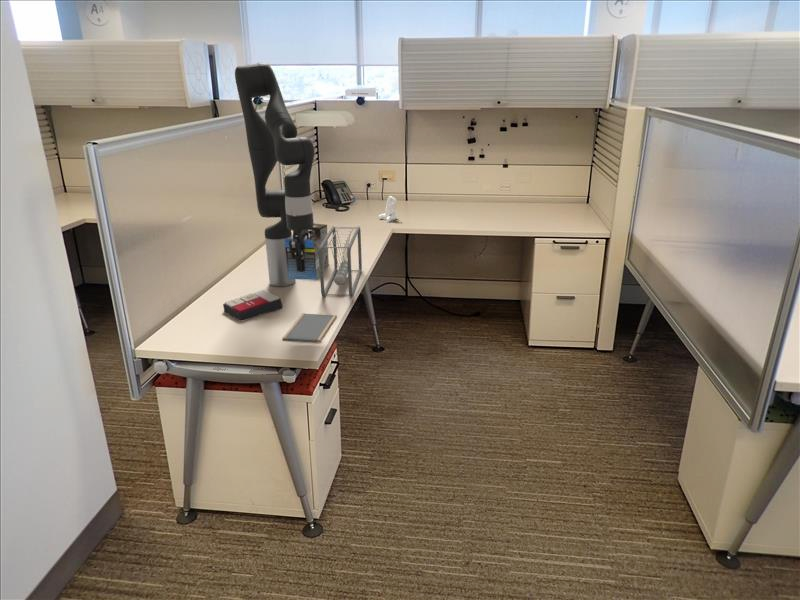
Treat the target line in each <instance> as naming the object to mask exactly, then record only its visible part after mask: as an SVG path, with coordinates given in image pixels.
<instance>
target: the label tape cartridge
mask: <svg viewBox="0 0 800 600" xmlns="http://www.w3.org/2000/svg"><path fill="white" fill-rule="evenodd" d="M289 241H293V240H292V239H285V250H286V260H287V271H288V279H295V280H309V281H310V280H311V281H317V280H318V279H319V278H320V268H319V255H318V249H316V248H314V240H313V239H306V241H305V248H306V251H304V263H305V271H304V272H298V271H297V265H296V259H292V255H291V251H290V246H289ZM302 248H303V247H300V249H302Z"/></svg>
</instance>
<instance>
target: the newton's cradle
mask: <svg viewBox="0 0 800 600" xmlns="http://www.w3.org/2000/svg"><path fill="white" fill-rule="evenodd" d="M339 229H351V231H350V230H349V231H346V230H345V231H339ZM353 230H355V231H354V232H353ZM361 231H362V230H361V227H360V226H359V225H358V226H355V227H354V226H352V227H349V226H348V227H346V226H345V227H343V226H342V227H341V226H339V227H337V226H336V227H335V226H334V225H332V226H331V227H330V229H329V231H327V236H326V237H325V239H324V240H323V242H322V244H321V245H320V247H319V266H320V268H319V269H320V276H319V278H320V279H319V280H320V281H319V282H320V293H321V294H320V295H321V296H322V297H326V296H339V297H340V296H342V297H343V296H348V297H350V298H353V296H354V294H355V291H356V288H357V286H358V282H359V280H360V276H361V274H362V270H363V269H362V268H363V266H362V265H363V264H362V263H363V261H362V239H361V238H362V237H361ZM339 232H344V233H343V234H342V235H345V236H346V235H348V237H346V238H347V239H346V240H345V242H344V243H343V242H341V239H340V235H339ZM345 232H346V233H347V234H346V233H345ZM348 232H349V234H348ZM352 233H353V235H352ZM331 235H332V237H331V239H330V236H331ZM351 235H352V237H351ZM337 238H338V239H337ZM350 238H351V239H350ZM356 238H357V252H358V257H357V258H358V269H354V270H352V256H351V254H352V253H351V252H352V247H353V245H354V243H355V240H356ZM329 239H330V240H329ZM327 240H329V241H328V245H327V247H324V245H325V244H326V242H327ZM337 240H338V241H337ZM342 244H343V246H342ZM339 245H340V246H339ZM323 248H328V249H331V253H332V256H333V257H332V258H333V263H334V267H333V271H332V274H331V275H330V278H329V280H328V282H327V284H326V286H325V279H324V278H325V276H324V267H323V259H322V249H323ZM340 249H341V250H340ZM345 249H346V250H345ZM338 251H339V252H338ZM340 251H341V252H340ZM341 253H342V255H341ZM345 255H346V256H345ZM340 258H341V259H340ZM340 260H341V261H340ZM338 261H339V262H338ZM352 272H357V274H356V277H355V279H354V283H353V282H352V281H353V280H352V279H353V278H352V276H353V275H352ZM347 278H348V280H347V281H348V282H347V283H348V294H347V293H344V294H343V293H342V294H338V293H337V294H336V293H335V294H333V293H330V294H329V293H328V291H329V289H330V287H331V284H332V283H333V282H334V283H335V285H337V286H342V285H344V283H345V281H346V279H347ZM327 293H328V294H327Z"/></svg>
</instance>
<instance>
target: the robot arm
mask: <svg viewBox="0 0 800 600" xmlns="http://www.w3.org/2000/svg"><path fill="white" fill-rule="evenodd" d="M234 79H235V84H236V89H237V93H238V97H239V102H240V106H241V111H242V115H243V119H244V120H243V121H244V126H245V127H244V128H245V133H246V140H247V146H248V147H247V148H248V153H249V157H250V163H251V167H252V171H253V179H254V187H255V196H256V206H257V211H258V214H259V215H260V217H261V218H266V219H267V218H280V220H279V221H278V222H277V223H274V224H273V225H270V226H267V227H266V228H265V229H264V238H265V239H264V240H265V250H266V259H267V269H268V270H267V271H268V280H269V285H270V286H274V287H286V286H287V287H288V286H291V285H294V284H295V283H296V279H288V271H287V260H286V250H285V239H292V240H293V241H289V246H290V251H291V255H292V259H296V265H297V271H298V272H304V271H305V263H304V251H306V248H305V241H306V239H312V238H313V230H309V229H310V228H312V227H313V226H314V210H313V207H314V206H313V199H312V195H311V176H312V175H311V174H312V173H311V172H312V168H313V164H314V158H315V146H314V143H313V142H312V140H311V139H310V138H308V137H304V136H303V137H302V136H299V137H297V136H298V129H297V126H296V124H295V122H294V121H293V119H292V117H291V115H290V113H289V111H288V109H287V107H286V103H285V101H284V98H283V95H282V91H281V89H280V86H279V83H278V80H277V77H276V75H275V72H274V70H273V68H272V67H271V66H270V64H269V63H267V62H256V63H250V64H242V65H237V66H236V67H235V70H234ZM266 96H269V100H268V103H267V106H266V109H265V112H264V119H263V117H261V115H260V114H259V112H258V111H257V110H256V108H255V106H254V103H253V99H255V98H260V97H266ZM277 162H278V163H279V164H281V165H283V166H294V165H295V166H296V165H298V167H297V169H296V170H294V171H293V172H290V173H288V174H286V175H284V178H283V185H284V189H275V190H273V189H270V190H269V189H268V190H267V188H266V184H267V182H268V180H269V177H270V176H271V173H272V172H273V171H274V169H275V167H276V165H277ZM300 247H303V248H302V249H300Z"/></svg>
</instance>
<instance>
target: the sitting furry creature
mask: <svg viewBox="0 0 800 600" xmlns="http://www.w3.org/2000/svg"><path fill="white" fill-rule="evenodd" d="M396 202H397V199H396V198H395V197H393V196H391V195H388V198H387V199H386V207H385V208H384V209H385V210H384V211H385V213H381V214H379V215H378V219H379V220H384V221H386V222H387V223H390V222H393V221H394V220H396V219H397V217H398V215H399V214H398V212H397V211H396V207H395V206H394V205H395V203H396Z"/></svg>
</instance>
